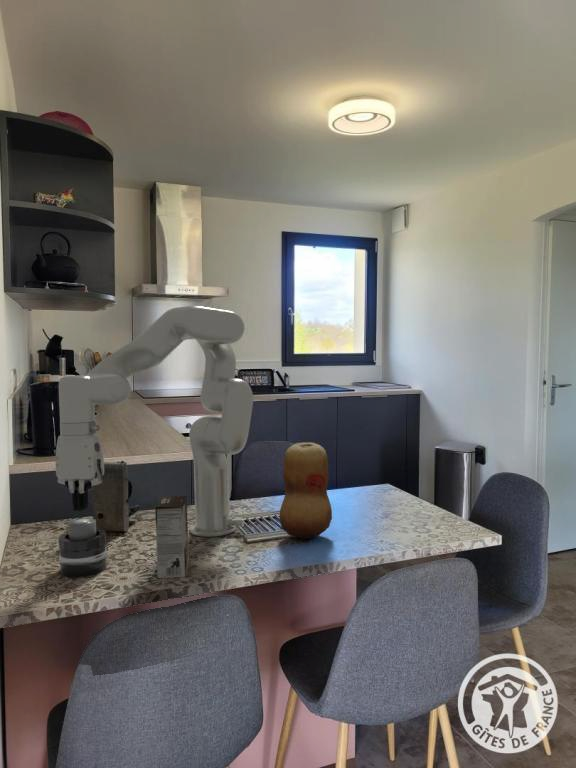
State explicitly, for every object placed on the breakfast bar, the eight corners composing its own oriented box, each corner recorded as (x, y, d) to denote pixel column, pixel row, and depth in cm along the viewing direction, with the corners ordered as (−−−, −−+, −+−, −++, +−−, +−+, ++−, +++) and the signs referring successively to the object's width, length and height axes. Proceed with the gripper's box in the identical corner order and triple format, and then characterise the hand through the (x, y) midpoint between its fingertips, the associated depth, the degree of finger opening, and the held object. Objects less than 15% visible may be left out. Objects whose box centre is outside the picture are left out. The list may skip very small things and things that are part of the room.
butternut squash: (294, 549, 144) (291, 449, 143) (272, 534, 156) (270, 442, 155) (342, 540, 150) (340, 444, 149) (317, 527, 162) (316, 438, 161)
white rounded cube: (101, 540, 136) (100, 518, 136) (87, 548, 130) (86, 525, 130) (78, 538, 137) (77, 517, 137) (63, 547, 131) (62, 524, 131)
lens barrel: (115, 562, 138) (114, 529, 137) (91, 579, 128) (89, 543, 127) (77, 559, 140) (75, 527, 140) (50, 576, 130) (48, 540, 130)
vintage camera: (145, 519, 175) (142, 453, 175) (125, 533, 160) (122, 461, 160) (114, 520, 176) (111, 454, 176) (92, 534, 161) (88, 462, 161)
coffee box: (161, 564, 136) (159, 496, 135) (189, 562, 137) (187, 494, 136) (156, 579, 127) (153, 506, 126) (186, 577, 128) (183, 504, 127)
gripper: (116, 428, 134) (118, 506, 135) (59, 427, 138) (61, 504, 139) (98, 432, 127) (100, 515, 128) (38, 431, 130) (41, 512, 131)
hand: (80, 509), depth 133 cm, fingers closed
